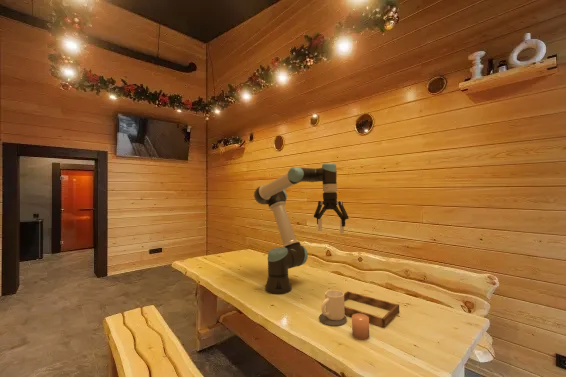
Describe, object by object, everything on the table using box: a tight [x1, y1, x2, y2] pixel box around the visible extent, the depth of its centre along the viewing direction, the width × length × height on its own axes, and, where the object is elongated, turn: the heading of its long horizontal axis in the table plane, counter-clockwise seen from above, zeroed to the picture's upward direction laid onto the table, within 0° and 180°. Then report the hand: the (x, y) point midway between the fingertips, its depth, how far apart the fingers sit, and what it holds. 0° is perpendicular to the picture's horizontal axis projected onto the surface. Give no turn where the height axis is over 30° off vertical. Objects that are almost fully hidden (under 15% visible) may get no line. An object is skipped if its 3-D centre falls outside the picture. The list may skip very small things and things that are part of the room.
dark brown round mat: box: [318, 312, 348, 327], centre depth 115 cm, size 12×12×1 cm
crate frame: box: [343, 291, 400, 329], centre depth 122 cm, size 26×18×4 cm
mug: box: [321, 289, 346, 321], centre depth 115 cm, size 12×8×10 cm
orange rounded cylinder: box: [351, 313, 370, 341], centre depth 102 cm, size 6×6×7 cm
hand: (330, 231), depth 140 cm, fingers open, 13 cm apart
